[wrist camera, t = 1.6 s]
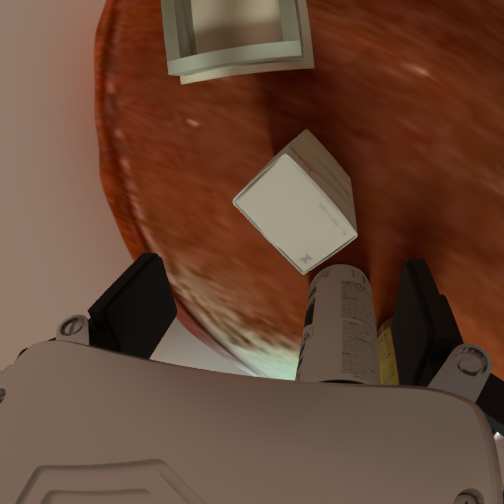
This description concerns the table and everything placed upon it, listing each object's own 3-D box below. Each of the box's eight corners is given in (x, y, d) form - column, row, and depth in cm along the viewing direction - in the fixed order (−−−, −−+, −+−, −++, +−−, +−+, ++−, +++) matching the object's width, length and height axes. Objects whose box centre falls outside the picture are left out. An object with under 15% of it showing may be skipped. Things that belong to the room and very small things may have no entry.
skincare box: (351, 178, 26) (365, 237, 16) (315, 206, 28) (304, 279, 18) (304, 125, 25) (287, 149, 15) (269, 157, 27) (228, 202, 17)
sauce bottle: (388, 354, 35) (392, 500, 18) (366, 325, 34) (366, 488, 17) (433, 332, 32) (459, 481, 15) (415, 300, 30) (446, 467, 14)
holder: (298, -45, 16) (292, -65, 13) (314, 68, 22) (312, 63, 18) (173, -21, 20) (151, -32, 16) (184, 84, 25) (162, 84, 22)
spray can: (305, 264, 32) (266, 446, 15) (369, 257, 29) (387, 444, 13) (314, 313, 35) (286, 480, 18) (372, 308, 32) (378, 480, 15)
